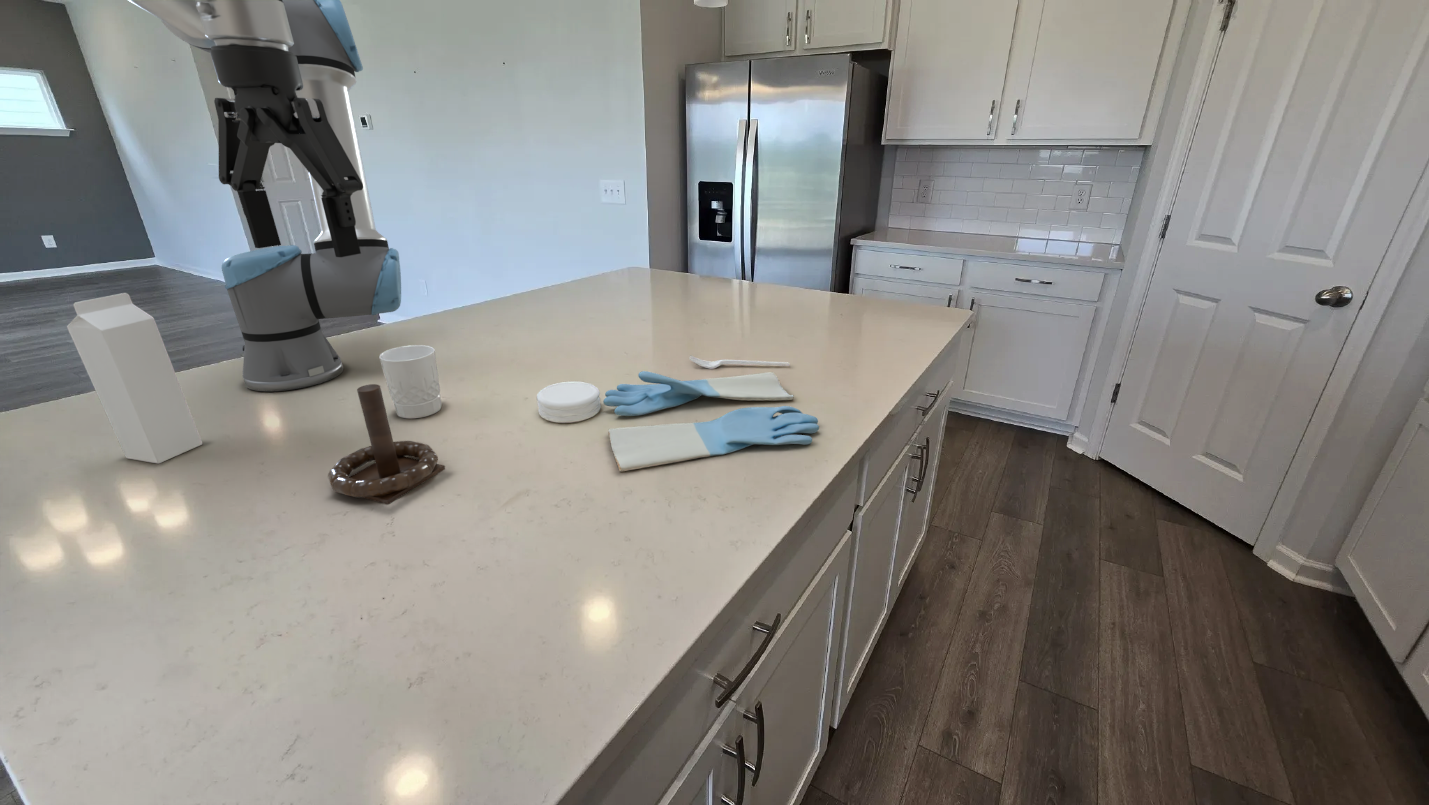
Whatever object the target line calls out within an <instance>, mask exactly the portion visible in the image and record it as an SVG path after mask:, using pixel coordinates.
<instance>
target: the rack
mask: <svg viewBox="0 0 1429 805" xmlns="http://www.w3.org/2000/svg"><path fill="white" fill-rule="evenodd" d="M356 392H357V395H358V400H359V403H360V407H361V411H362V415H363V418H364V419H363V420H364V423H365V427H366V431H367V434H368V438H369V442H370V446H372V450H373V454H374V458H375V461H374V463H372V464H370V465H369V466H366V467H365V468H363V469H361V470H359V471H357V472H355V473H354V474H352V475H349V478H353V479H356V480H372V479H382V478H386V477H389V476H392V475H396V474H399V473H403V472H404V471H406V470H408V469H410V468H411V467H413V466H415V465H416V464H417V463H418V462H419V458H416V457H411V456H397V455H396V451H395V447H394V443H393V442H394V439H393V434H392V431H391V427H390V422H389V418H388V414H387V409H386V405H385V401H384V397H383V392H382V389H381V385H379V384H376V383H370V384H365V385H361V386H359V387H358V388H357V389H356ZM445 470H446V466H445V465H444V464H439V463H437V464H436V465H435V467H434V469H433V471H432V473H431V474H430V475H429V476H428V477H426V478H424V479H423V480H421V481H420V482H418V483H416V484H415V485H413V486H412V487H409V488H406V489H403V490H400V491H397V492H393V493H390V494H387V495H383V496H370V497H361V498H362V499H367V500H369V501H374V502H378V503H380V504H384V505H390V504H391V503H393V502H395V501H397V500H398V499H400V498H401V497H402V496H405V495H406V494H408V493H410V492H411V491H413V490H414V489H416V488H417V487H419V486H420V485H423V484H424V483H425V482H427V481H429V480H431V479H432V478H433V477H435V476H436V475H438V474H440V473H441V472H443V471H445Z"/></svg>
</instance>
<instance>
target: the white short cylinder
mask: <svg viewBox="0 0 1429 805" xmlns="http://www.w3.org/2000/svg"><path fill="white" fill-rule="evenodd" d="M600 394H601V392H600V389H599V388H598V387H597V386H596V385H594V384H593V383H590V382H586V381H578V380H577V381H576V380H575V381H574V380H573V381H572V380H571V381H570V380H569V381H561V382H555V383H552V384H549V385H547V386H545V387H542V388H541V389H540V390H539V391H538V393H537V394H536V401H537V407H538V408H537V409H538V410H537V411H538V414H539V417H541V418H542V419H544V420H545V421H547V422H552V423H557V424H558V423H559V424H569V423H578V422H582V421H586V420H588V419H591V418H593V417H594V416H595V415H597V414H598V413H599V412H600V411H601V407H602V405H601V397H600Z"/></svg>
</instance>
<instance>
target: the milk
mask: <svg viewBox="0 0 1429 805" xmlns="http://www.w3.org/2000/svg"><path fill="white" fill-rule="evenodd" d="M73 308H74V311H75V313H76V316H74V318H72V320H70V322H69V323H68V325H66V328H67V331H68V333H69V336H70V337H71V340H72V342H73V344H74V346H75V348H76V351H77V353H78V355H79V358H80V360H81V362H82V364H83V366H84V368H85V371H86V373H87V375H88V377H89V380H90V381H91V384H92V386H93V388H94V390H95V393H96V395H97V397H98V399H99V401H100V404H101V406H102V409H103V410H104V412H105V414H106V417H107V418H108V421H109V423H110V425H111V426H110V427H111V428H112V430H113V432H114V435H115V436H116V439H117V442H118V443H119V445H120V448H121V450H122V452H123V455H124V457H125V458H126V459H129V460H135V461H140V462H147V463H152V464H161V463H163V462H166V461H169V460H170V459H173V458H175V457H177V456H179V455H181V454H184V453H186V452H189V451H191V450H193V449H195V448H198V447H199V446H202V445H203V441H202V438H201V435H200V433H199V431H198V428H197V426H196V422H195V420H194V416H193V414H192V413H191V410H190V407H189V405H188V402H187V399H186V397H185V394H184V392H183V388H182V387H181V384H180V382H179V379H178V376H177V373H176V371H175V368H174V366H173V363H172V361H171V358H170V355H169V353H168V351H167V348H166V345H165V342H164V340H163V337H162V334H161V332H160V330H159V327H158V325H157V322H156V320H155V318H154V317H153V316H152V315H151V314H149V313H148V312H146V311H144V310H143V309H142V308H140V307H139V306H137V305H136V304H134V303H133V301H132V299H131V296H130V294H129V293H127V292H122V293H117V294H112V295H107V296H106V295H105V296H100V297H96V298H90V299H85V300H80V301H76V302H75V301H74V303H73Z"/></svg>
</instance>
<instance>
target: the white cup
mask: <svg viewBox="0 0 1429 805" xmlns="http://www.w3.org/2000/svg"><path fill="white" fill-rule="evenodd" d="M378 358H379V363H380V365H381V369H382V373H383V375H384V378H385V383H386V385H387V389H388V392H389V394H390V398H391V401H392V402H393V403H392V404H393V406H394V410H395V414H396V415H397V416H398V417H399V418H403V419H419V418H425V417H429V416H432V415H435V414H436V413H437V412H440V411H441V409H442V406H443V405H442V398H441V397H442V396H441V385H440V376H439V371H438V370H439V369H438V363H437V356H436V349H435V348H434V347H432V346H431V345H424V344H411V345H402V346H397V347H393V348H390V349H387V350H385V351H382V352H381V353H380V354H379V356H378Z"/></svg>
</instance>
